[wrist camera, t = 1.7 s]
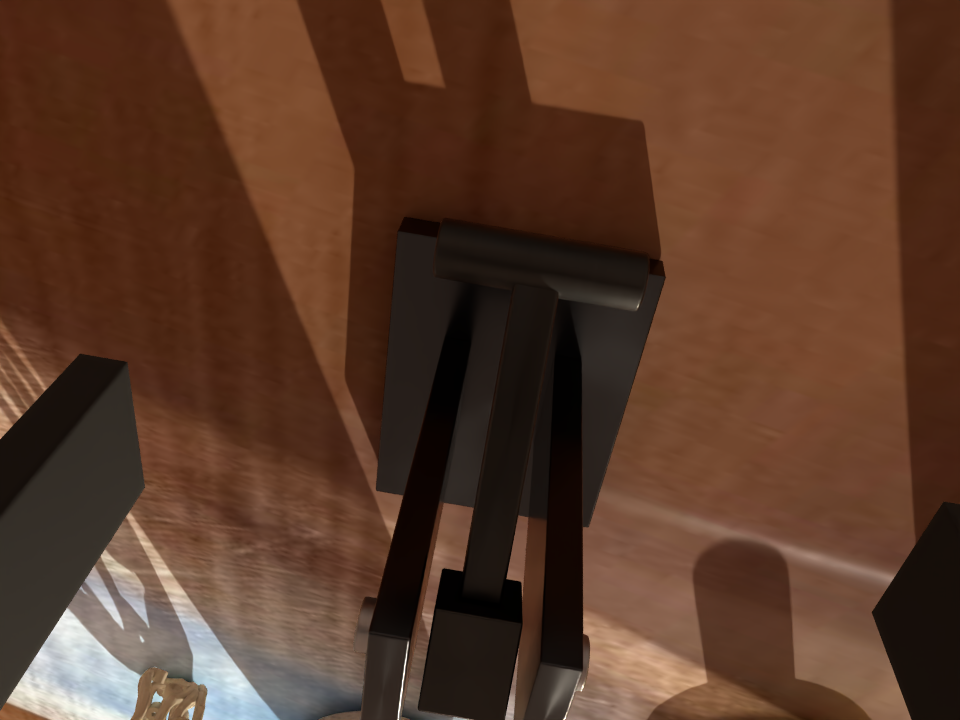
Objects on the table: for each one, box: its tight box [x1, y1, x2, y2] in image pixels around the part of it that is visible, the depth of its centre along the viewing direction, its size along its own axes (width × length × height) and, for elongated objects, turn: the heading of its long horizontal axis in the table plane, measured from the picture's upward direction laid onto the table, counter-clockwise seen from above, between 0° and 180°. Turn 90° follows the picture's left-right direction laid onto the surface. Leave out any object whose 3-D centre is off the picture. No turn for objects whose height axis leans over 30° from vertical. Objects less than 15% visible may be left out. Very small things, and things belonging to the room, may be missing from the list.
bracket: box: [353, 217, 666, 720], centre depth 25 cm, size 12×9×14 cm
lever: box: [418, 218, 649, 720], centre depth 20 cm, size 12×5×2 cm, turn 173°
